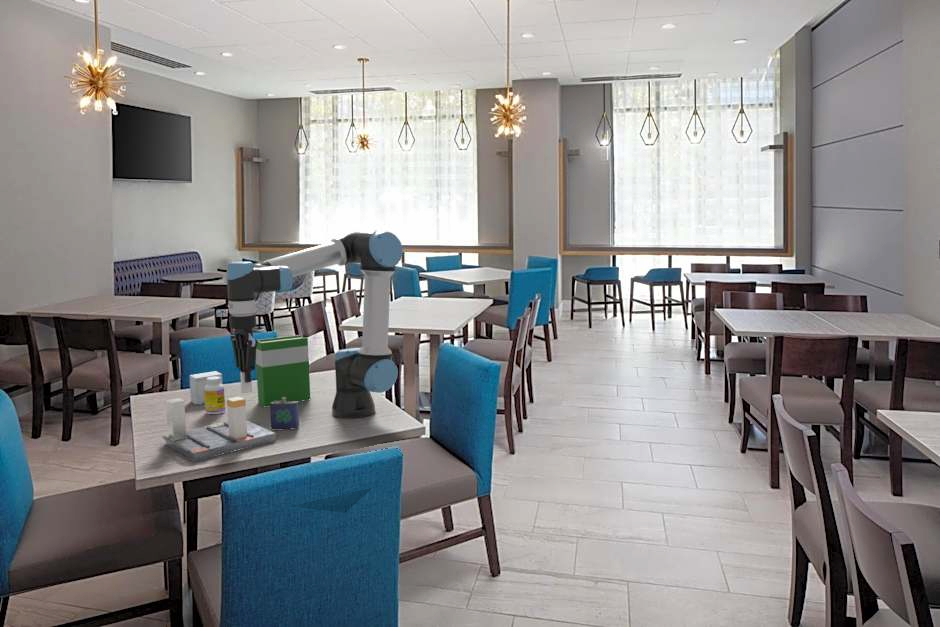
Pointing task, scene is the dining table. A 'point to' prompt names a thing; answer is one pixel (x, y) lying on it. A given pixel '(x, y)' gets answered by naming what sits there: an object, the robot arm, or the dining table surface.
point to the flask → (284, 414)
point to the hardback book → (282, 369)
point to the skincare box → (200, 385)
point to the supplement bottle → (214, 396)
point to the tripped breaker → (237, 417)
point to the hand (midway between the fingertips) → (246, 392)
